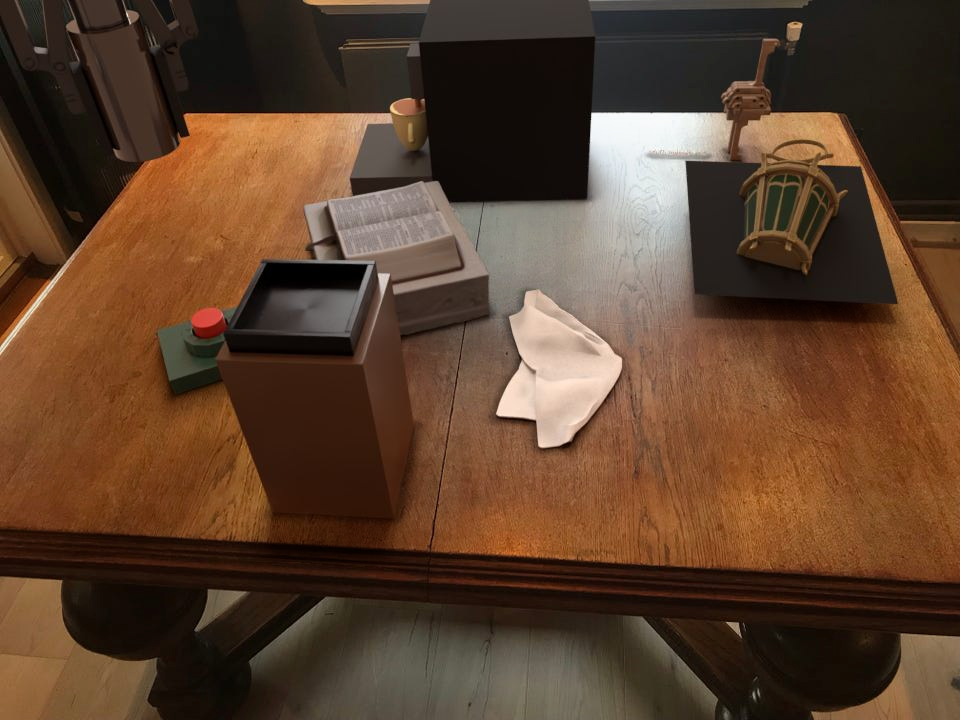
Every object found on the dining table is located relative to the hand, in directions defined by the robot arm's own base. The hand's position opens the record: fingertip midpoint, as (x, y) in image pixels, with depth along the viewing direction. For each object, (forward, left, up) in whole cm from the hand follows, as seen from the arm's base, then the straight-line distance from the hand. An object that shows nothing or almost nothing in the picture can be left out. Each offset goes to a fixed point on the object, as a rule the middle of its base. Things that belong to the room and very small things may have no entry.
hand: (145, 138), depth 63 cm
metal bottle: (0, 0, -1) cm, 1 cm away
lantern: (+70, -3, -33) cm, 77 cm away
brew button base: (-1, +12, -32) cm, 35 cm away
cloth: (+34, -9, -33) cm, 48 cm away
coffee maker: (+44, +37, -33) cm, 66 cm away
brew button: (-1, +12, -29) cm, 31 cm away
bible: (+23, +16, -33) cm, 43 cm away
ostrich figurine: (+78, +23, -33) cm, 88 cm away
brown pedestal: (+8, -12, -32) cm, 36 cm away
